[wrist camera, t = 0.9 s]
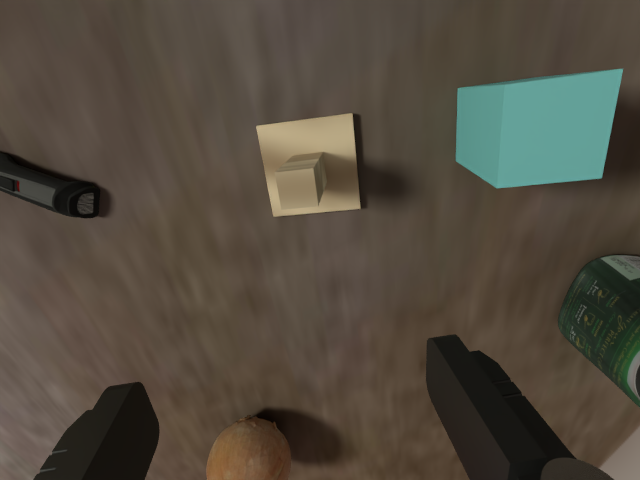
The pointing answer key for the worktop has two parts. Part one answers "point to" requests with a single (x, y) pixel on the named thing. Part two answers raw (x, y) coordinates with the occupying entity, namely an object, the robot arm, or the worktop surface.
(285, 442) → the onion
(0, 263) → the worktop surface
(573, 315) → the coffee jar
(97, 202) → the electric trimmer
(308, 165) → the post
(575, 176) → the teal tower prism
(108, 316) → the worktop surface
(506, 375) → the robot arm
